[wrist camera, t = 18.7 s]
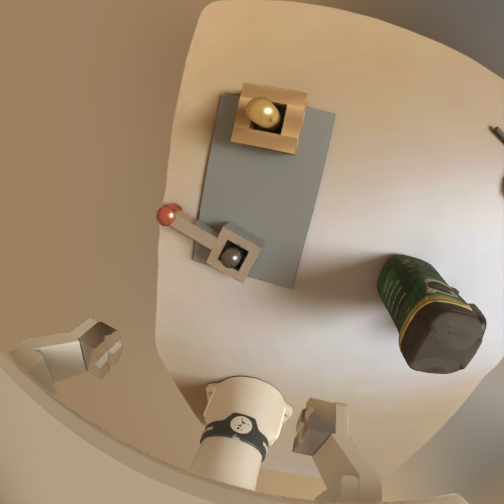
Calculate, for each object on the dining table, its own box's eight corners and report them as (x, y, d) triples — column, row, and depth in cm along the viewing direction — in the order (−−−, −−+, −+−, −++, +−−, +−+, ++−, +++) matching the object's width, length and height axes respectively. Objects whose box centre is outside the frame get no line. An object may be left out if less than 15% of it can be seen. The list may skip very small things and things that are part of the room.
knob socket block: (266, 242, 40) (261, 248, 37) (247, 275, 42) (242, 283, 39) (174, 191, 40) (163, 194, 37) (161, 224, 43) (151, 229, 40)
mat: (291, 287, 42) (291, 288, 41) (194, 259, 44) (193, 260, 44) (335, 114, 33) (335, 113, 32) (223, 94, 35) (222, 93, 34)
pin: (281, 134, 35) (270, 125, 26) (260, 130, 35) (243, 120, 27) (285, 113, 34) (276, 98, 25) (264, 109, 34) (248, 94, 26)
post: (245, 258, 41) (236, 270, 37) (230, 253, 42) (219, 265, 37) (248, 243, 41) (239, 253, 36) (233, 238, 41) (222, 249, 36)
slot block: (295, 155, 35) (293, 154, 31) (239, 143, 36) (230, 141, 33) (307, 100, 32) (306, 93, 29) (250, 90, 33) (243, 82, 30)
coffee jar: (370, 295, 39) (394, 378, 22) (387, 247, 37) (433, 311, 19) (420, 308, 38) (461, 385, 21) (439, 264, 35) (498, 327, 18)
